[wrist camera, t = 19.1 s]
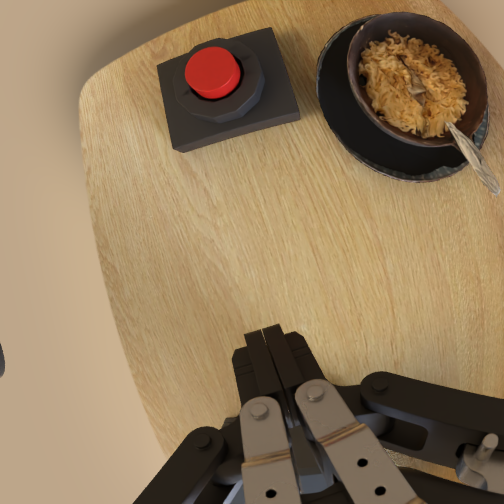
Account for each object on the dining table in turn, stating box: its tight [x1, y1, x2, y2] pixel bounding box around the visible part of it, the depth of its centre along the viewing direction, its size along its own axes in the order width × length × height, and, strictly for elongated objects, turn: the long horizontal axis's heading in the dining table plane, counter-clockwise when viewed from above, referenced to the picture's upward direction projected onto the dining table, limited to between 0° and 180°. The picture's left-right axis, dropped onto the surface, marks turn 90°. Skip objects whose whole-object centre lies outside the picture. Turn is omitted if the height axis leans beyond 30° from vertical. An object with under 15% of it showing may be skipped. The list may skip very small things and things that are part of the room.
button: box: [185, 47, 241, 99], centre depth 20 cm, size 4×4×2 cm
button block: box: [157, 27, 300, 153], centre depth 23 cm, size 10×8×4 cm
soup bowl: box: [316, 12, 500, 198], centre depth 18 cm, size 15×16×7 cm
